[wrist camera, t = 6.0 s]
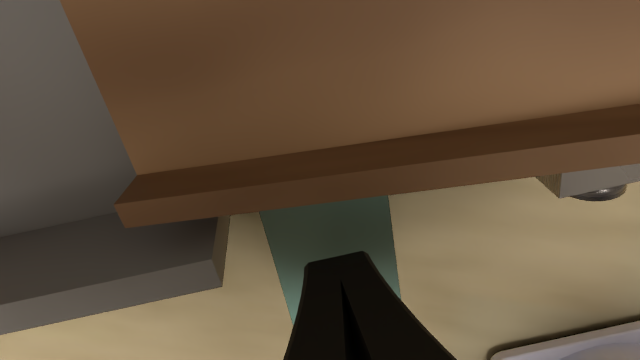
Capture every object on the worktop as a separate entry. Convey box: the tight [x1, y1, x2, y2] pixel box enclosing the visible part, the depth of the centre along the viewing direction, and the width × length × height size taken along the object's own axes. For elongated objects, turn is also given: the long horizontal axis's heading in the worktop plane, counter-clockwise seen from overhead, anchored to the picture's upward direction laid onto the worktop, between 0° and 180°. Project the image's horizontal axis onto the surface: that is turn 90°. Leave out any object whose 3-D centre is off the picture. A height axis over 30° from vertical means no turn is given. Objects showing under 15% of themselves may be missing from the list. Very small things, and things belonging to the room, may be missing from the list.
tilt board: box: [60, 0, 640, 325], centre depth 8 cm, size 10×20×3 cm, turn 100°
